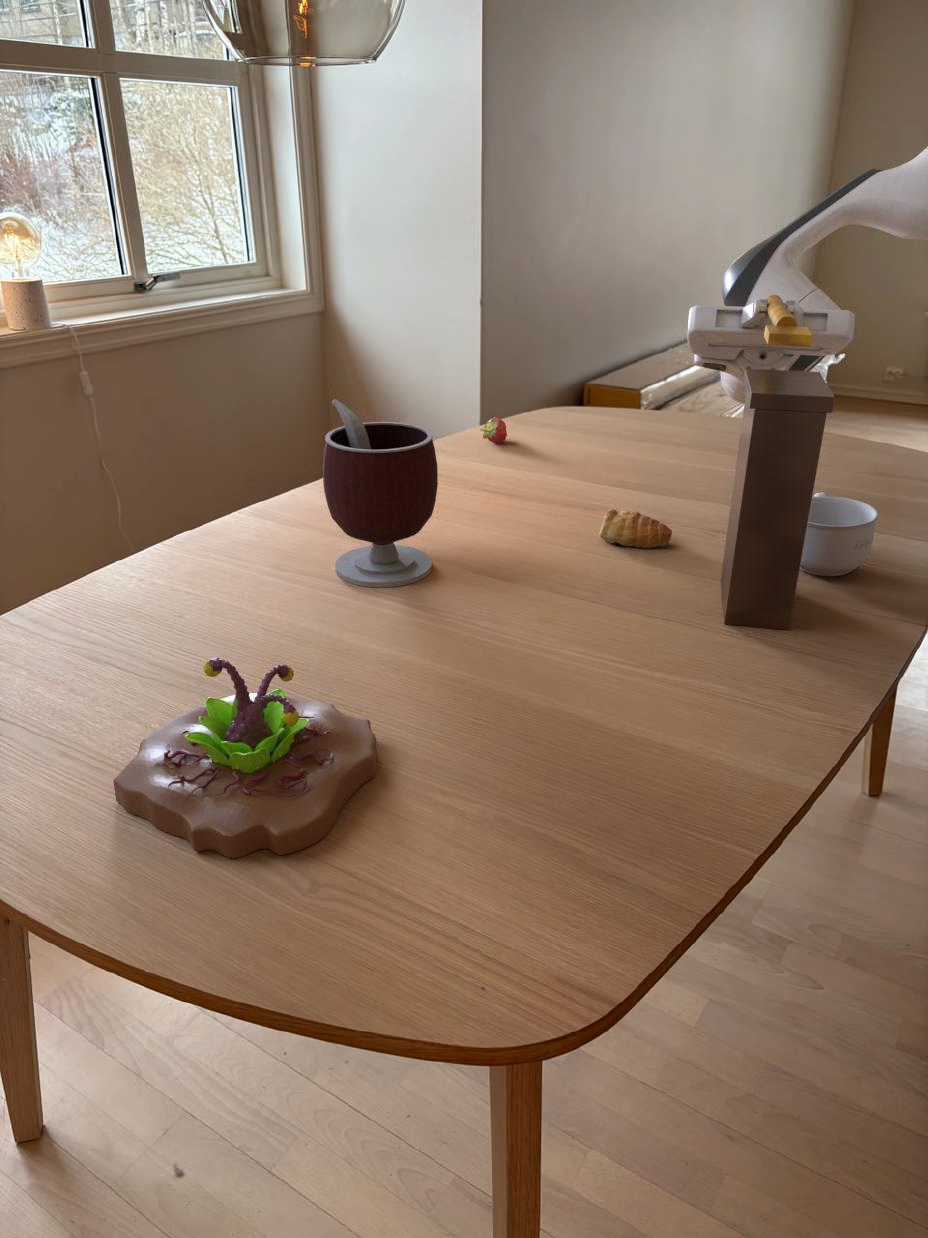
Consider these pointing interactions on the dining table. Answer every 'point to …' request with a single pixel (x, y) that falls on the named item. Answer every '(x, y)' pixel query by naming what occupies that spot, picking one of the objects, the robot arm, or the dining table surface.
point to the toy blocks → (784, 326)
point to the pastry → (634, 529)
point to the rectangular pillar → (772, 494)
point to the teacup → (837, 535)
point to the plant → (249, 769)
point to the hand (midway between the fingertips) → (776, 305)
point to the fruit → (495, 430)
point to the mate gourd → (380, 496)
